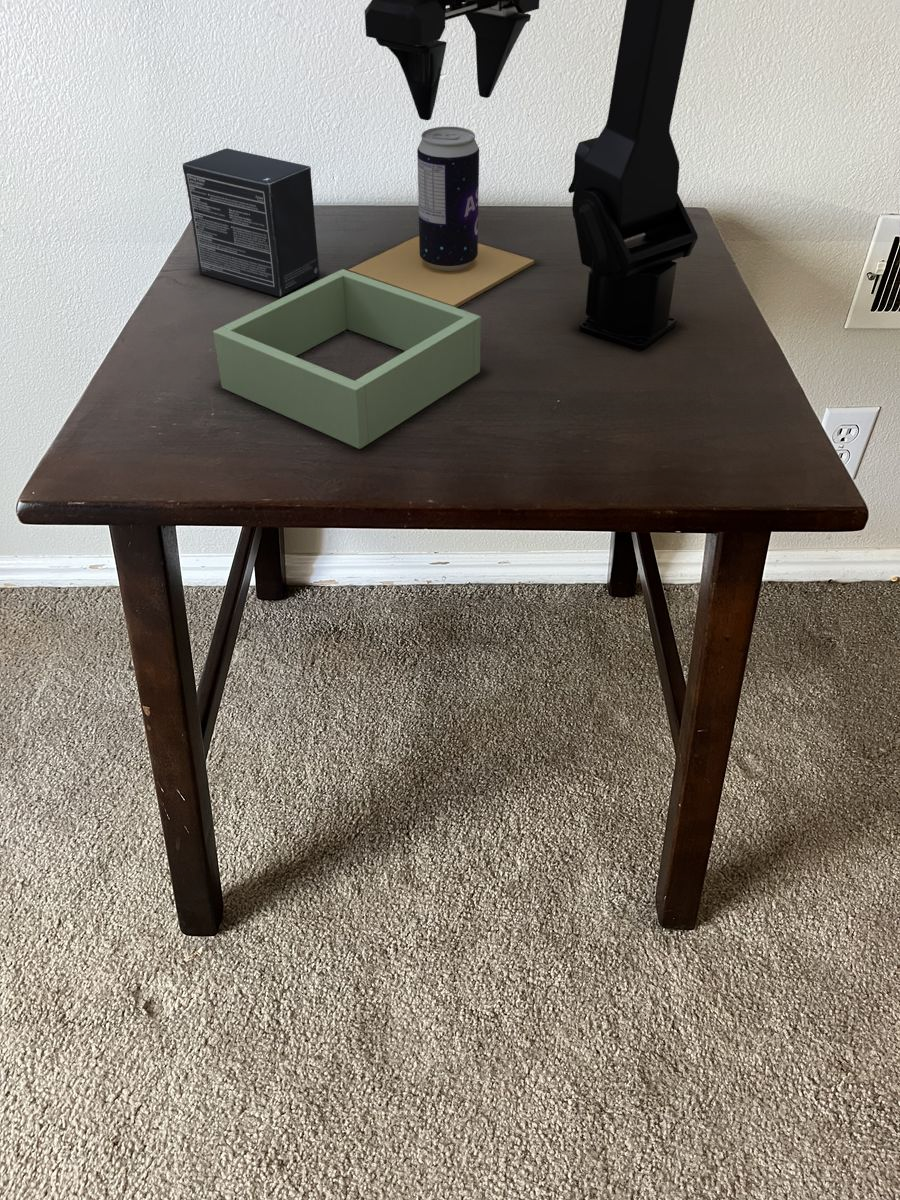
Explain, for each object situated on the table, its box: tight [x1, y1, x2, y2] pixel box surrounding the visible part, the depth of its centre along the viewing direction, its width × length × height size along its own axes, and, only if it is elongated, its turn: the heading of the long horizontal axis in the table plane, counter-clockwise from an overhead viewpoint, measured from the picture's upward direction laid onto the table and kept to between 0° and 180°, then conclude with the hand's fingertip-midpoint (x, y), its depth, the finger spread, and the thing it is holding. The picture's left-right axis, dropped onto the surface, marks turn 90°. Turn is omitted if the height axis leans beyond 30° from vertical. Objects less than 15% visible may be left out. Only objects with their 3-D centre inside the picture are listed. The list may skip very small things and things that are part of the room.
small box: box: [182, 147, 321, 298], centre depth 98 cm, size 11×6×10 cm, turn 58°
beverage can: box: [416, 126, 480, 271], centre depth 98 cm, size 6×6×12 cm
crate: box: [212, 268, 482, 450], centre depth 84 cm, size 15×15×5 cm
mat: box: [347, 235, 535, 308], centre depth 102 cm, size 13×13×1 cm
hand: (455, 107), depth 99 cm, fingers open, 9 cm apart
